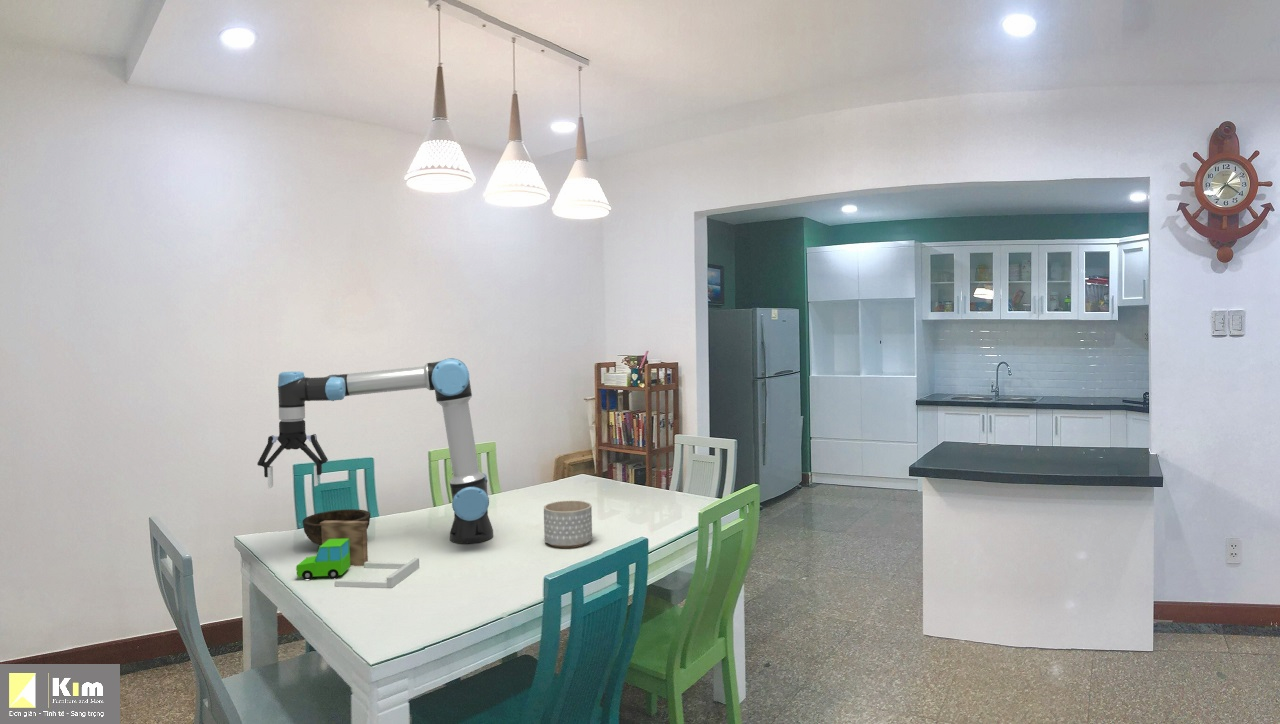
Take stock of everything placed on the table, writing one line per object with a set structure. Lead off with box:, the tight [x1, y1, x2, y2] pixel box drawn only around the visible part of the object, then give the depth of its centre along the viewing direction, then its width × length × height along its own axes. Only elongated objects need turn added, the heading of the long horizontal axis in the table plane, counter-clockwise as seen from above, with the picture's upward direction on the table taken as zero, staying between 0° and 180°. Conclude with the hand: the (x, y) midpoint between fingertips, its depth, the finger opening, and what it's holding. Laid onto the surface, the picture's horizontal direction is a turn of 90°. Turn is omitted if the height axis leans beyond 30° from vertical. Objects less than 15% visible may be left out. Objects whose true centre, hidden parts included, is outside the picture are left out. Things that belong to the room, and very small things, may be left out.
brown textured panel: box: [320, 520, 369, 567], centre depth 226 cm, size 15×3×14 cm, turn 83°
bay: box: [334, 557, 420, 589], centre depth 214 cm, size 18×18×3 cm
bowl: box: [301, 508, 371, 547], centre depth 248 cm, size 22×22×10 cm
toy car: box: [295, 538, 351, 580], centre depth 216 cm, size 10×13×10 cm
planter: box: [543, 500, 593, 549], centre depth 246 cm, size 16×16×13 cm
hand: (293, 486), depth 227 cm, fingers open, 13 cm apart
